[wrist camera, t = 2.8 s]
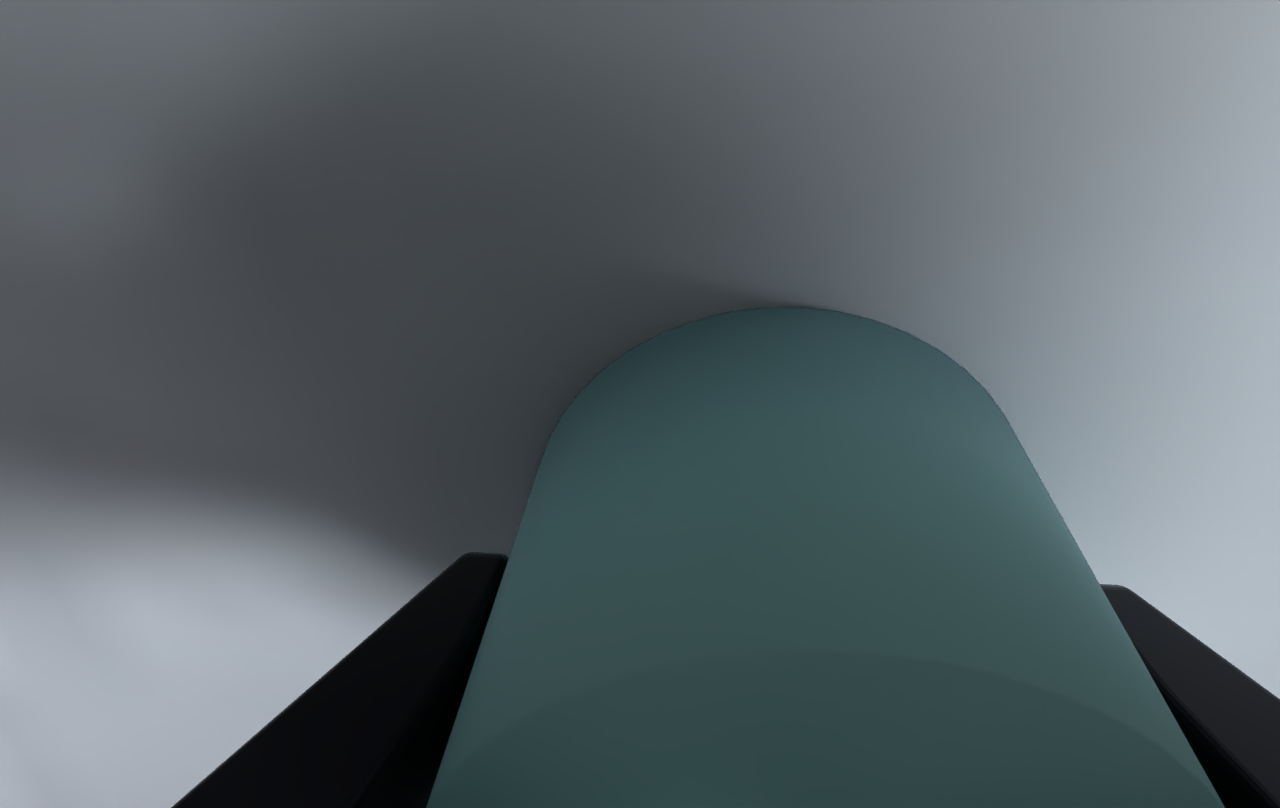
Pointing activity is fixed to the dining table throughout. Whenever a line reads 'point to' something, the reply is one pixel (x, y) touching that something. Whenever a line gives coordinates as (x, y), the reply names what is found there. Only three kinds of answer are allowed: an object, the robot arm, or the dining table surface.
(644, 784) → the teal cylinder
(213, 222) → the dining table surface
